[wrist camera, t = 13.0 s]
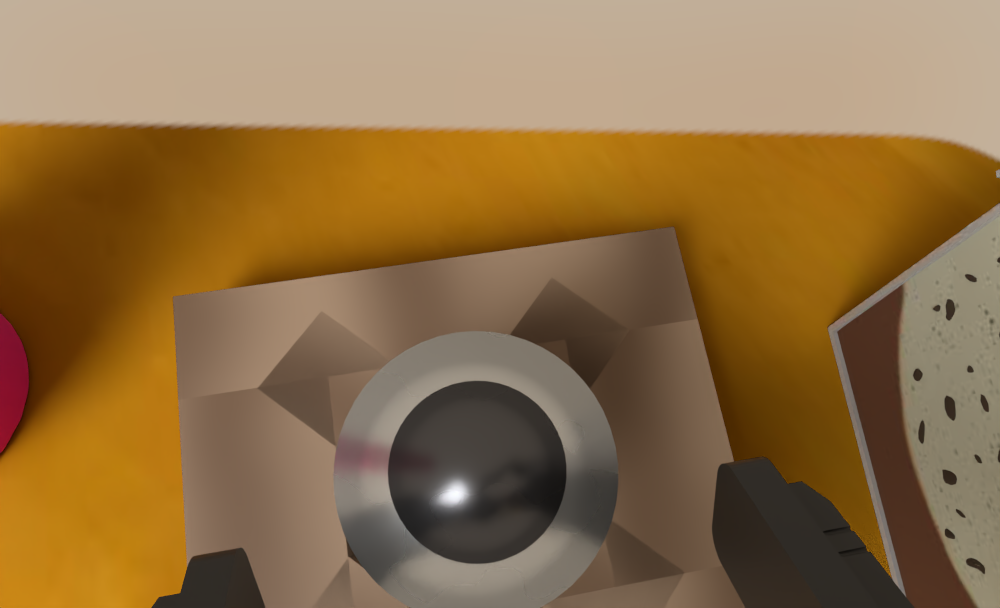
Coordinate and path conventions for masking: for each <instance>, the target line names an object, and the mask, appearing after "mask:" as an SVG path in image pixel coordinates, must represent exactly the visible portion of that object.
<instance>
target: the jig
mask: <svg viewBox="0 0 1000 608" xmlns="http://www.w3.org/2000/svg"><path fill="white" fill-rule="evenodd" d="M173 306H174V325H175V344H176V363H177V382H178V400H179V419H180V438H181V457H182V476H183V495H184V514H185V533H186V552H187V567H188V564H189V561H190V559H191V558H192V557H193V556H196V555H202V554H207V553H213V552H219V551H224V550H230V549H236V548H243V549H244V550H245V552H246V554H247V557H248V560H249V562H250V565H251V568H252V571H253V574H254V576H255V579H256V582H257V585H258V588H259V590H260V593H261V596H262V599H263V602H264V604H265V608H410V607H408V606H406V605H405V604H403V603H402V602H400V601H399V600H397V599H396V598H394V597H393V596H391V595H390V594H388V593H387V592H386V591H385V590H384V589H383V588H382V587H381V586H379V585H378V584H377V583H376V582H375V581H374V580H373V579H372V577H371V576H370V575H369V574H368V573H367V572H366V570H365V569H364V568H363V567H362V565H361V564H360V562H359V561H358V559H357V558H356V556H355V554H354V553H353V551H352V550H351V548H350V545H349V543H348V541H347V539H346V537H345V535H344V533H343V530H342V526H341V523H340V520H339V517H338V513H337V508H336V502H335V496H334V478H333V473H334V462H335V453H336V449H337V444H338V440H339V436H340V433H341V430H342V427H343V425H344V422H345V419H346V417H347V415H348V413H349V411H350V409H351V407H352V405H353V403H354V401H355V400H356V398H357V397H358V396H359V394H360V393H361V391H362V390H363V388H364V387H365V385H366V384H367V383H368V382H369V381H370V380H371V379H372V378H373V376H374V375H375V374H376V373H377V372H378V371H379V370H380V369H382V368H383V367H384V366H385V365H386V364H387V363H388V362H390V361H391V360H392V359H394V358H395V357H397V356H398V355H400V354H401V353H403V352H404V351H406V350H407V349H409V348H411V347H413V346H415V345H417V344H419V343H421V342H424V341H427V340H430V339H432V338H435V337H438V336H442V335H447V334H452V333H456V332H468V331H485V332H496V333H502V334H507V335H511V336H515V337H518V338H521V339H524V340H527V341H529V342H531V343H534V344H536V345H538V346H540V347H542V348H544V349H546V350H547V351H549V352H551V353H552V354H554V355H555V356H557V357H558V358H560V359H561V360H562V361H563V362H565V363H566V364H567V365H568V366H570V367H571V368H572V369H573V370H574V371H575V372H576V373H577V374H578V375H579V376H580V378H581V379H582V380H583V381H584V382H585V383H586V385H587V386H588V387H589V389H590V390H591V391H592V393H593V394H594V395H595V397H596V399H597V401H598V402H599V404H600V406H601V408H602V409H603V411H604V414H605V416H606V418H607V421H608V423H609V426H610V428H611V432H612V435H613V439H614V443H615V447H616V453H617V460H618V492H617V501H616V506H615V510H614V514H613V519H612V522H611V525H610V527H609V530H608V533H607V535H606V538H605V540H604V542H603V544H602V546H601V547H600V549H599V551H598V553H597V555H596V557H595V558H594V559H593V561H592V562H591V564H590V565H589V566H588V568H587V569H586V570H585V572H584V573H583V574H582V575H581V576H580V577H579V578H578V579H577V580H576V581H575V582H574V583H573V585H572V586H570V587H569V588H568V589H567V590H566V591H564V592H563V593H562V594H561V595H559V596H558V597H557V598H556V599H554V600H552V601H551V602H549V603H547V604H546V605H544V606H542V607H541V608H745V606H744V604H743V603H742V601H741V599H740V597H739V595H738V593H737V592H736V590H735V588H734V586H733V584H732V582H731V581H730V579H729V577H728V575H727V573H726V572H725V570H724V568H723V566H722V564H721V562H720V560H719V558H718V555H717V552H716V549H715V545H714V541H713V535H712V520H713V510H714V500H715V490H716V480H717V472H718V468H719V466H720V465H721V464H723V463H729V462H734V459H733V455H732V451H731V448H730V444H729V440H728V436H727V432H726V428H725V424H724V420H723V416H722V412H721V408H720V405H719V401H718V397H717V393H716V389H715V385H714V381H713V377H712V373H711V369H710V366H709V362H708V358H707V354H706V350H705V346H704V342H703V338H702V334H701V330H700V327H699V323H698V319H697V315H696V311H695V307H694V303H693V299H692V295H691V291H690V287H689V284H688V280H687V276H686V272H685V268H684V264H683V260H682V256H681V252H680V248H679V245H678V241H677V237H676V233H675V229H674V227H668V228H660V229H653V230H646V231H639V232H632V233H625V234H618V235H610V236H603V237H596V238H589V239H582V240H575V241H568V242H560V243H553V244H546V245H539V246H532V247H525V248H518V249H510V250H503V251H496V252H489V253H482V254H475V255H467V256H460V257H453V258H446V259H439V260H432V261H425V262H417V263H410V264H403V265H396V266H389V267H382V268H375V269H367V270H360V271H353V272H346V273H339V274H332V275H325V276H317V277H310V278H303V279H296V280H289V281H282V282H274V283H267V284H260V285H253V286H246V287H239V288H232V289H224V290H217V291H210V292H203V293H196V294H189V295H182V296H174V297H173Z"/></svg>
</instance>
